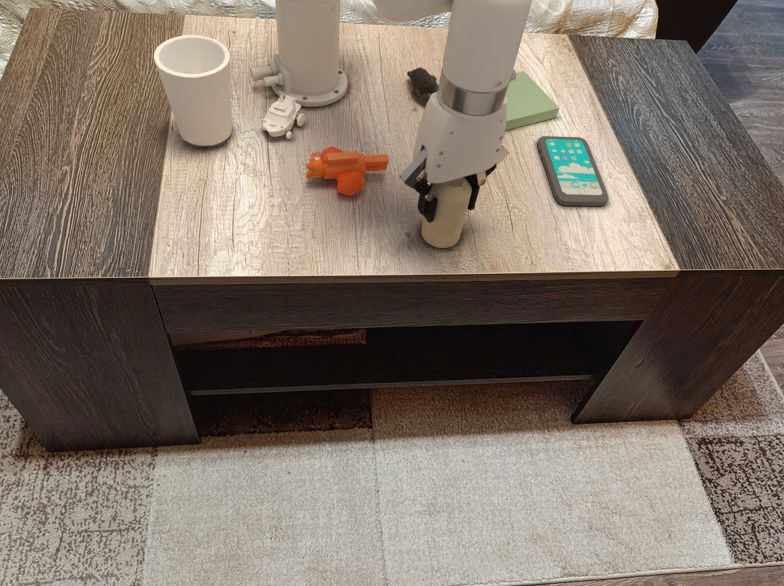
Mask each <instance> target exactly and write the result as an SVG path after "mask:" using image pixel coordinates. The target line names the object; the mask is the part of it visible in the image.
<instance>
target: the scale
mask: <svg viewBox="0 0 784 586" xmlns="http://www.w3.org/2000/svg"><path fill="white" fill-rule="evenodd" d="M506 97H507V119H506V126H505V131H508V130H513V129H516V128H520V127H523V126H529V125H532V124H536V123H540V122H544V121H548V120H551V119H555V118H557V116H558V113H559V110H560V107H559V105H557V104H556V103H555V102H554V100H553V99H552V98H551V97H550V96H548V94H547V93H546V92H545V91H544V90H543V88H541V87H540V86H539V85H538V84H537V83H536V82H535V80H533V79H532V77H530V75H528V74H527V73H526V72H525V70H523V71H517V72H516V79H515V81H513V82H510V83H509V87H508V90H507V94H506Z"/></svg>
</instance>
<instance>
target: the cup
mask: <svg viewBox="0 0 784 586" xmlns="http://www.w3.org/2000/svg"><path fill="white" fill-rule="evenodd" d="M230 53H231V52H230V51H229V49H228V47H226V45H225V44H224V43H222V42H221V41H219V40H218V39H214V38H211V37H209V36H204V35H199V34H198V35H197V34H186V35H179V36H175V37H172V38H169V39H167V40H165V41H163V42H162V43H160V44H159V45H158V46H157V47H156V49H155V50H154V53H153V61H154V63H155V66H156V68H157V71H158V75H159V78H160V80H161V83H162V85H163V89H164V91H165V92H164V93H165V95H166V97H167V100H168V103H169V106H170V109H171V111H172V114H173V118H174V121H175V123H176V126H177V129H178V131H179V135H180V137H181V138H182V140H184V141H185V142H187V143H188V144H189V145H191V146H192V147H193V148H195V149H201V148H203V147H212V146H213V147H217V148H218V147H223V145H224V144H225V142H226V141H227V140H228V138H229V137H230V136H231V134H232V132H233V121H232V120H233V119H232V118H233V117H232V87H231V86H232V85H231V83H232V82H231V55H230Z"/></svg>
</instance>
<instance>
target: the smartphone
mask: <svg viewBox="0 0 784 586" xmlns="http://www.w3.org/2000/svg"><path fill="white" fill-rule="evenodd" d="M537 147H538V151H539V154H540V157H541V160H542V163H543V165H544V169H545V173H546V175H547V178H548V182H549V184H550V188H551V191H552V194H553V196H554V198H555V200H556V202H557V203H558V204H559V205H562V206H581V207H582V206H583V207H584V206H586V207H592V206H593V207H603V206H605V205H607V203H608V201H609V194H608V191H607V188H606V186H605V184H604V181H603V178H602V176H601V173H600V171H599V168H598V166H597V164H596V161H595V158H594V156H593V153H592V151H591V148H590V145H589V143H588V141H587V140H586V139H584V138H583V137H580V136H555V135H554V136H553V135H542V136H540V137H539V138H538V140H537Z"/></svg>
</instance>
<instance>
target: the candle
mask: <svg viewBox="0 0 784 586" xmlns="http://www.w3.org/2000/svg"><path fill="white" fill-rule="evenodd" d="M430 184H431V183H430V182H429V185H430ZM471 192H472V188H471V185H470V184H469V182H468V181H467V180H466V179H465V178H464V177H461V178H457V179H454V180H450V181H446V182H442V184H441V186H440V188H439V190H438V192H437V194H436V195H435V196H436V198H437V200H438V203H437V207H436V212H435V217H434V220H433V222H430V223H428V221H427V220H426V219H425V217H424V216H423V219H422V224H421V225H422V226H421V236H422V238H423V240H424V241H425V242H426V243H427V244H429V245H430V246H432V247H435V248H439V249H447V248H450V247H453V246H455V245H456V244H457V243H458V242H459V240H460V238H461V234H462V231H463V227H464V224H465V223H464V222H465V220H466V216H467V211H468V209H467V208H468V204H469V200H470V196H471Z"/></svg>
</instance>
